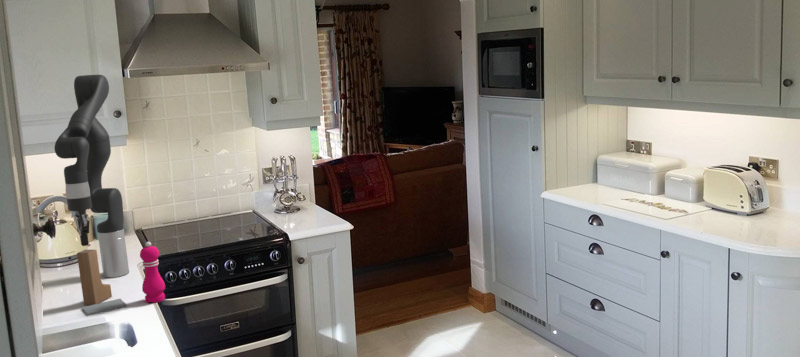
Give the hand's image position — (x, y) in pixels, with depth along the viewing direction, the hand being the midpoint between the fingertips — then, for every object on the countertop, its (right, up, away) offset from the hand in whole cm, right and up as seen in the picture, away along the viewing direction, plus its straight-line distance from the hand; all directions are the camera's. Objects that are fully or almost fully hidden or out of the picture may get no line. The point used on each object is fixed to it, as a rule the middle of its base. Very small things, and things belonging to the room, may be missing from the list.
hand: (85, 245), depth 246 cm
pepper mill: (+27, -18, -8) cm, 33 cm away
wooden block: (+7, -19, -5) cm, 20 cm away
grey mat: (+12, -19, -12) cm, 26 cm away
